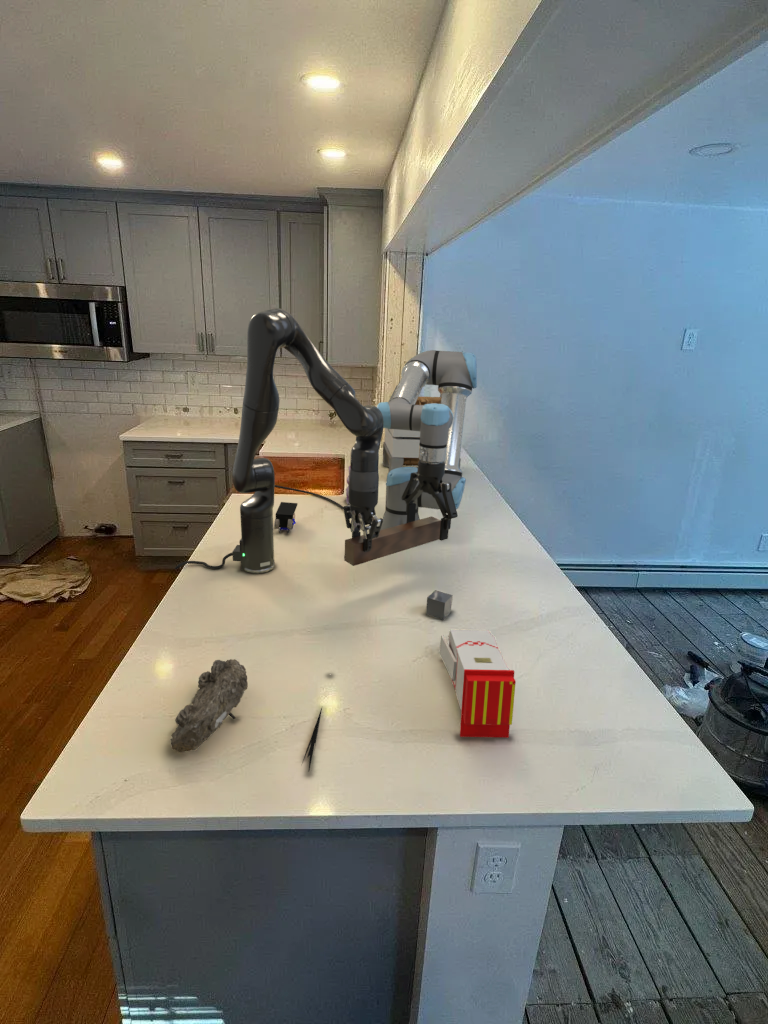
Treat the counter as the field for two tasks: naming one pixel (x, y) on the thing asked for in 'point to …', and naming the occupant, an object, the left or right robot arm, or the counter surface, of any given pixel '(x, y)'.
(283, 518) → the figurine character
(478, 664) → the toy
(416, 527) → the walnut bar
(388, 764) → the counter surface
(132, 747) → the counter surface
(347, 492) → the figurine
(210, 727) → the fossil
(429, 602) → the slate cube
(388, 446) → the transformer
